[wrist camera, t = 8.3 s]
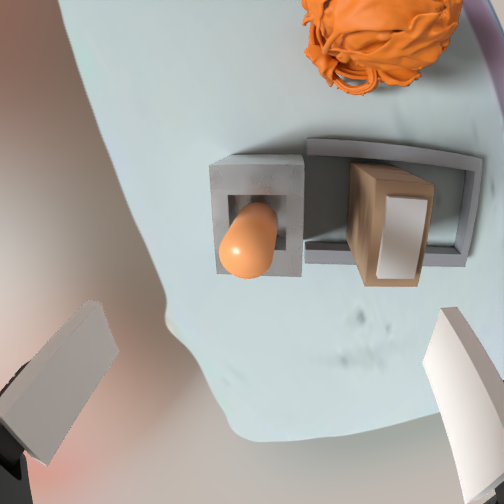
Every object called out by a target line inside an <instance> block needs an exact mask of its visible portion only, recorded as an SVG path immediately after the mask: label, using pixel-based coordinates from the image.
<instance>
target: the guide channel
mask: <svg viewBox="0 0 504 504" xmlns="http://www.w3.org/2000/svg"><path fill="white" fill-rule="evenodd" d="M307 154H308V155H319V156H341V157H357V158H371V159H382V160H393V161H403V162H412V163H420V164H428V165H435V166H443V167H449V168H456V169H462V170H466V173H465V182H464V191H463V199H462V206H461V212H460V218H459V224H458V230H457V235H456V240H455V245H454V248H453V247H429V246H426V249H425V254H424V259H423V264H422V266H442V267H465V265H466V261H467V257H468V252H469V248H470V244H471V239H472V234H473V229H474V224H475V218H476V212H477V206H478V200H479V192H480V185H481V176H482V165H483V159H481V158H477V157H474V156H469V155H464V154H458V153H453V152H447V151H441V150H434V149H428V148H421V147H413V146H406V145H397V144H388V143H378V142H367V141H354V140H338V139H317V138H307ZM304 258H305V263H309V264H347V265H356V262H355V260H354V257H353V255H352V252H351V250H350V247H349V245H348V244H347V243H314V242H305V252H304Z"/></svg>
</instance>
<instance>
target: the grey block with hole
mask: <svg viewBox="0 0 504 504" xmlns="http://www.w3.org/2000/svg"><path fill="white" fill-rule="evenodd" d="M209 172H210V189H211V204H212V219H213V232H214V245H215V257H216V269H217V274H231V273H230V272H228V271H227V270H226V269H225V268H224V266H223V265H222V263H221V261H220V257H219V247H220V244H221V241H222V240H223V238H224V236H225V235H226V233H227V232H228V230H229V228H230V227H231V225H232V223H233V222H234V220H235V218H236V217H237V215H238V214H239V212H240V210H241V209H242V208H243V207H244V206H246V205H248V204H250V203H254V202H259V203H264V204H266V205H268V206H270V207H271V208H272V209H273V210H274V211H275V213H276V215H277V217H278V230H277V236H276V242H275V248H274V254H273V260H272V263H271V266H270V267H269V269H268V270H267V271H266V272H265V273H264V274H263V275H261V276H288V277H301V273H302V252H303V224H304V177H305V164H304V161H303V157H302V155H296V154H245V155H229V156H227V157H225V158H223V159H221V160H219V161H217V162H215V163H213V164H211V165H209Z"/></svg>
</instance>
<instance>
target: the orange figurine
mask: <svg viewBox="0 0 504 504" xmlns="http://www.w3.org/2000/svg"><path fill="white" fill-rule="evenodd" d="M462 3H463V0H302V6H303V8H304V9H305V10H307V11H308V13H307V14H306V15H305V18H304V21H303V23H302V25H303V26H306V24H307V23H308V22H311V26H310V35H309V45H308V48H307V49H306V50H305V51H304V53H306V56H307V57H308V58H309V59H310V60H311V61H312V62H313V64H315V65H316V66H317V67H318V69H319V72H320V74H321V75H322V77H323V78H325V79H326V80H327V83H328V84H329V86H330V87H332V85H333V83H335V84H336V85H337V86H338V87H337V89H338V88H340V89H341V90H343V91H344V92H346V93H349V94H353V95H364V94H366V93H369V92H371V91H373V90H374V89H375V88H376V87H377V85H378V83H380V84H382V83H381V82H385V83H387V84H388V85H391V86H394V85H399V86H403V87H405V86H409V85H410V84H411V83H412V82H413V80H418V78H419V77H421V73H420V72H419V71H418V69H423V68H424V67H426V66H429V65H431V64H433V63H434V62H436V61H437V60H438V58H439V56H440V54H441V53H442V52H444V51H445V50H446V49H447V46H448V45H449V43H450V37H451V35H452V33H453V32H454V31H455V29H456V27H457V26H458V24H459V23H458V20H459V15H460V12H461V8H462ZM336 73H337V74H339V75H341V76H344V77H347V78H351V79H357V80H367V79H368V81H367V82H366V83H365V84H362V85H359V86H350V85H348V84H346V83H345V82H344V81H342V80H341V79H340V77H339V76H338V75H337V74H336Z"/></svg>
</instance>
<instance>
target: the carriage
mask: <svg viewBox="0 0 504 504" xmlns="http://www.w3.org/2000/svg"><path fill="white" fill-rule="evenodd" d="M434 189H435V185H433V184H431V183H429V182H427V181H425V180H423V179H421V178H419V177H417V176H415V175H413V174H411V173H409V172H407V171H405V170H402V169H400V168H398V167H396V166H394V165H385V164H373V163H360V162H351V163H350V187H349V204H348V219H347V231H346V240H347V242H348V245H349V247H350V250H351V252H352V255H353V257H354V260H355V262H356V265H357V267H358V270H359V273H360V275H361V278H362V280H363V283H364V286H382V287H417V286H418V282H419V278H420V273H421V269H422V264H423V259H424V254H425V249H426V244H427V238H428V232H429V226H430V220H431V213H432V205H433V197H434Z"/></svg>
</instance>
